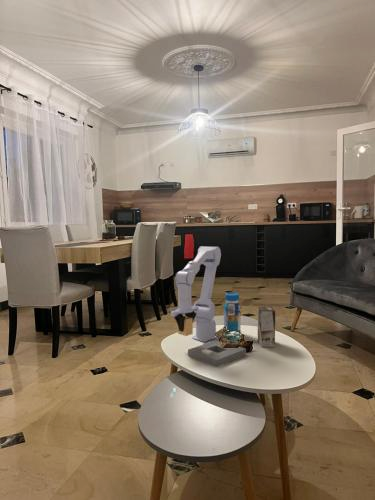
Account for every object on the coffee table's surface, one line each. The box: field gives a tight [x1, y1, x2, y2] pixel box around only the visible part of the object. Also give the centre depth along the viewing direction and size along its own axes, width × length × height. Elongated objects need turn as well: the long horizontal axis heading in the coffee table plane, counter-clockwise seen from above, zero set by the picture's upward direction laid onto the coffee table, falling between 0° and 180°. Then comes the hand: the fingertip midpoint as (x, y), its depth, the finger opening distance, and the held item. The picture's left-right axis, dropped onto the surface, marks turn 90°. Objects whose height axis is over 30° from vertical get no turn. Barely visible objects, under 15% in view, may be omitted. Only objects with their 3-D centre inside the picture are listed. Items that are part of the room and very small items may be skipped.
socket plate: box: [187, 339, 247, 368], centre depth 149 cm, size 18×16×3 cm
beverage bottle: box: [223, 292, 242, 334], centre depth 176 cm, size 8×8×20 cm
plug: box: [177, 315, 194, 337], centre depth 155 cm, size 4×5×7 cm
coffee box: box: [257, 306, 276, 348], centre depth 161 cm, size 9×6×16 cm
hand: (185, 329), depth 155 cm, fingers closed on plug, 4 cm apart
